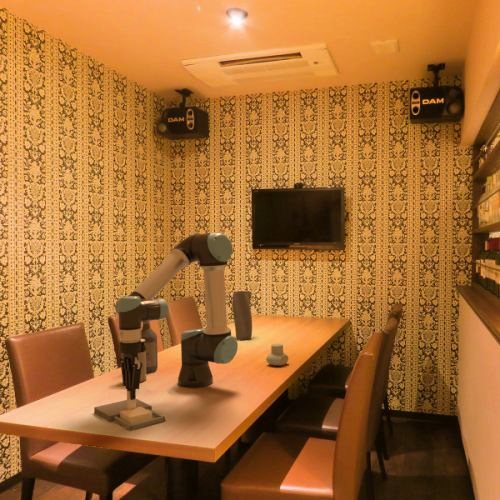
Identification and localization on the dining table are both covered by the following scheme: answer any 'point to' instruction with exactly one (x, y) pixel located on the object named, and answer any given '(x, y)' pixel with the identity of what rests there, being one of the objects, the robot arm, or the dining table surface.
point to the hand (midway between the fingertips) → (131, 408)
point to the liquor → (150, 347)
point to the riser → (116, 409)
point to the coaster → (136, 415)
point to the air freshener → (277, 355)
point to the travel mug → (142, 360)
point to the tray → (155, 419)
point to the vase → (242, 314)
